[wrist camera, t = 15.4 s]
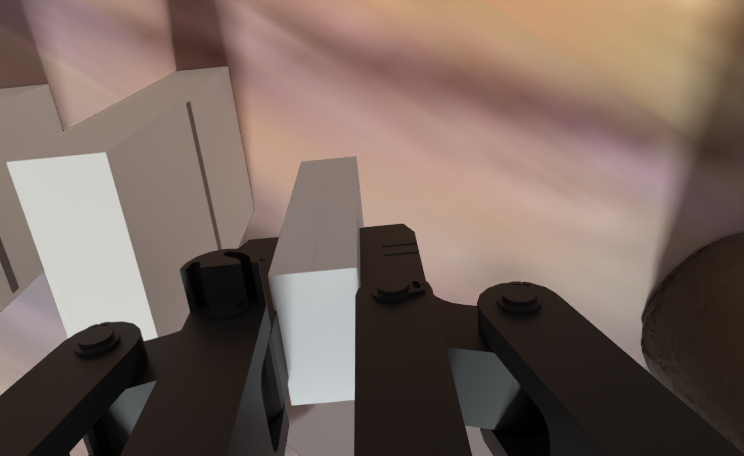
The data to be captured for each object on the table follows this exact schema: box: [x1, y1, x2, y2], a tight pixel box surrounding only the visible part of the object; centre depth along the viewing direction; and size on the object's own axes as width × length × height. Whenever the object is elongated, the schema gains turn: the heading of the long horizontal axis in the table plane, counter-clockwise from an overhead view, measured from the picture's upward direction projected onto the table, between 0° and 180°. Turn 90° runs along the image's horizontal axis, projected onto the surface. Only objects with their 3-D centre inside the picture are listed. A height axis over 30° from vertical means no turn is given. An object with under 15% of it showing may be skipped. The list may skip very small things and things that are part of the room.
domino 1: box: [6, 66, 254, 341], centre depth 18 cm, size 2×6×12 cm, turn 5°
